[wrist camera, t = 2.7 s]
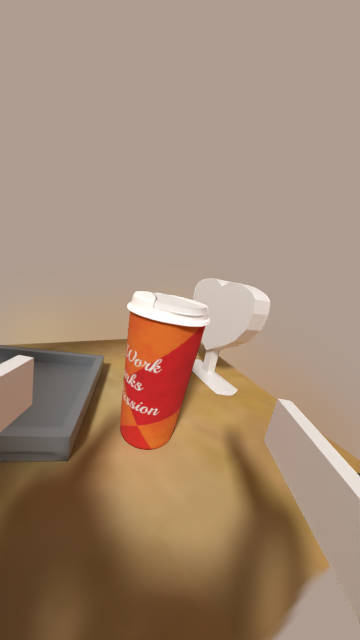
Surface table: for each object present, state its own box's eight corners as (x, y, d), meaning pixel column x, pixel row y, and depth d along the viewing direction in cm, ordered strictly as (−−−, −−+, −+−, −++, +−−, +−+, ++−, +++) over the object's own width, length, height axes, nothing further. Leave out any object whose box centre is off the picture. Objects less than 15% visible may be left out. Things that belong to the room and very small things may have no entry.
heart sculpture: (246, 396, 34) (278, 291, 30) (224, 401, 31) (257, 286, 27) (195, 356, 46) (213, 278, 42) (176, 356, 44) (194, 274, 40)
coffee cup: (104, 408, 24) (120, 286, 21) (165, 399, 28) (187, 296, 25) (117, 473, 17) (145, 303, 14) (196, 449, 21) (232, 313, 18)
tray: (-187, 463, 14) (-194, 432, 13) (-14, 359, 29) (-14, 343, 28) (67, 460, 17) (70, 437, 17) (102, 369, 32) (104, 355, 32)
